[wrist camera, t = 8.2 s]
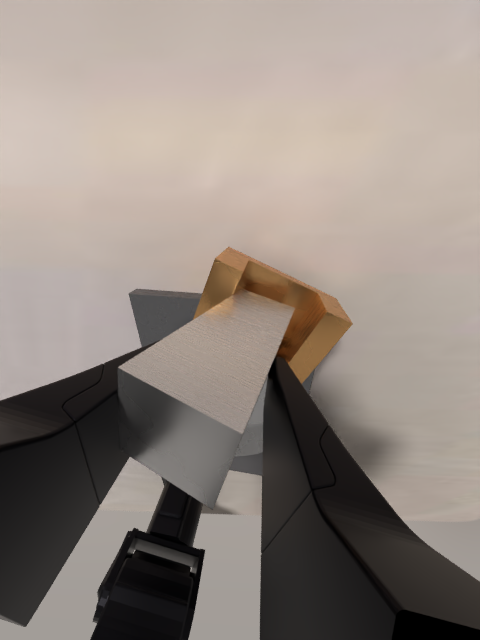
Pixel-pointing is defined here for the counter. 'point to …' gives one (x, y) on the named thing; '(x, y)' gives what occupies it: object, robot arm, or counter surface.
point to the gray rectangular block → (200, 392)
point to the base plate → (168, 315)
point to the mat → (248, 464)
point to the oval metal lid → (303, 329)
